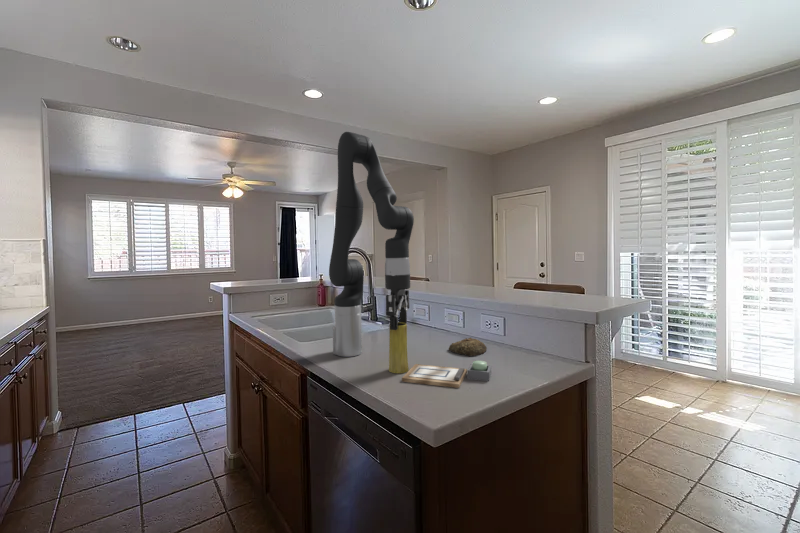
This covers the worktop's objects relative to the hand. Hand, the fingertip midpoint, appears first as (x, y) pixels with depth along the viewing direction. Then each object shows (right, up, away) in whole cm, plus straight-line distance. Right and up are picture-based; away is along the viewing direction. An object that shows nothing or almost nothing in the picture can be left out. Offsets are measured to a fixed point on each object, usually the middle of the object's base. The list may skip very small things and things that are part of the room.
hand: (398, 326), depth 113 cm
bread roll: (+25, -13, +22) cm, 36 cm away
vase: (0, -14, +1) cm, 14 cm away
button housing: (+23, -14, -5) cm, 27 cm away
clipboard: (+11, -14, -5) cm, 18 cm away
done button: (+23, -12, -5) cm, 26 cm away
